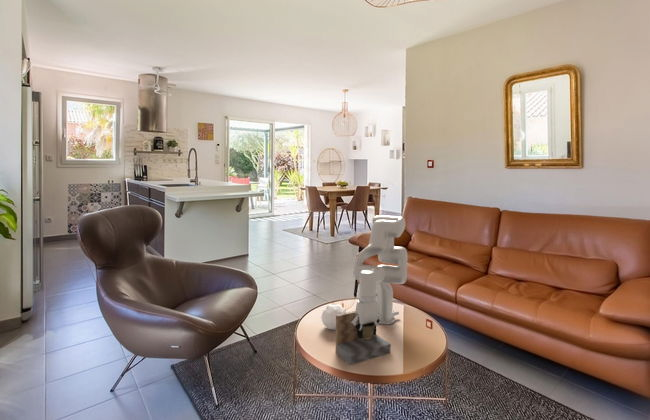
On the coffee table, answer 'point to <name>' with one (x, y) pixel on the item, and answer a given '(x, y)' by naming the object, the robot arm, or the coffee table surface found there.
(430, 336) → the coffee table surface
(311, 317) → the coffee table surface
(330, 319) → the geodesic sphere
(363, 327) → the cup
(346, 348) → the board
